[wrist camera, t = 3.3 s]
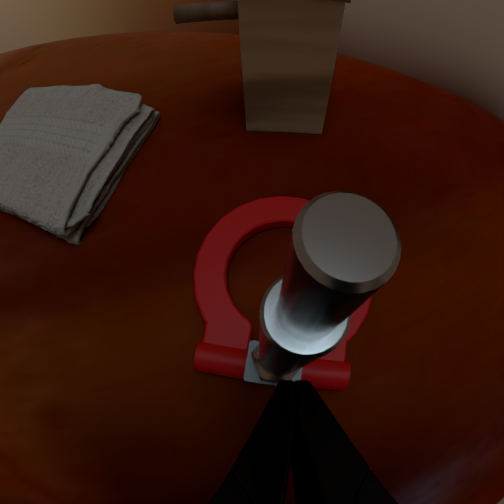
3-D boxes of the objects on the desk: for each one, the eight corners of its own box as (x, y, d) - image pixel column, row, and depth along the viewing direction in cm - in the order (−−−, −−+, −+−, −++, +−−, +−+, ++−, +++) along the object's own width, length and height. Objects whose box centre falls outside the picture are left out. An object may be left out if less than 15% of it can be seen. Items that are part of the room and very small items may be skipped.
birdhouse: (324, 136, 20) (351, -8, 10) (190, 133, 20) (154, -6, 10) (318, 87, 22) (334, -35, 12) (202, 85, 22) (180, -34, 12)
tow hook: (216, 198, 19) (178, 369, 15) (175, -41, 6) (-75, 255, 2) (367, 219, 18) (358, 394, 14) (466, 1, 6) (630, 347, 1)
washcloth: (90, 255, 18) (64, 234, 15) (-32, 199, 20) (-51, 183, 18) (171, 115, 22) (161, 84, 19) (32, 104, 25) (19, 85, 22)
